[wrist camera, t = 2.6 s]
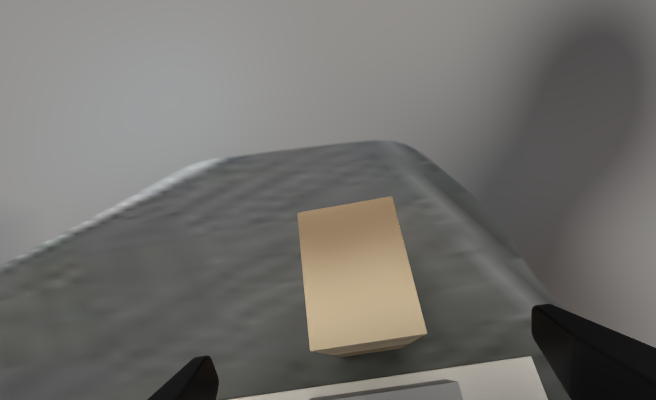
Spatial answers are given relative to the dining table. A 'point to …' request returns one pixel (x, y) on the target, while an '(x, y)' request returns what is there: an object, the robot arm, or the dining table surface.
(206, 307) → the dining table surface
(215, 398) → the robot arm
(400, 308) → the tan rectangular block
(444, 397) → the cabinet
